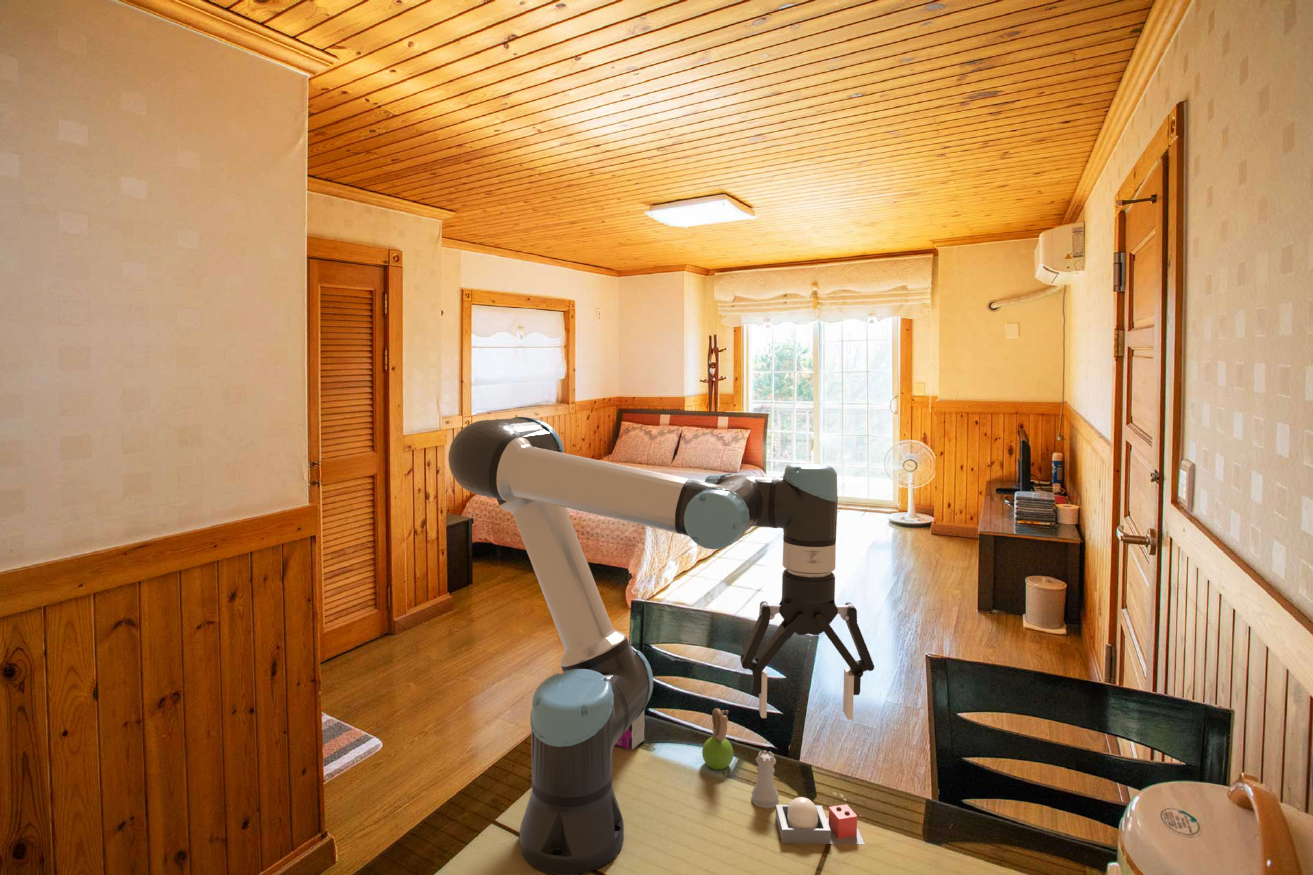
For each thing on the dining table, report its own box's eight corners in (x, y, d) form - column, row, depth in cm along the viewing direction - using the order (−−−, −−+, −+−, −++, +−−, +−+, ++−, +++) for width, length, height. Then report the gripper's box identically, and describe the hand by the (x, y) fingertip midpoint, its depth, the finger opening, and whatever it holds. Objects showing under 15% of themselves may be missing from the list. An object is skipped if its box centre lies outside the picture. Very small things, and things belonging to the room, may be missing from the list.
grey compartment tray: (781, 845, 100) (782, 820, 100) (775, 820, 106) (776, 796, 106) (864, 847, 100) (865, 822, 99) (853, 821, 106) (854, 797, 105)
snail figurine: (709, 781, 116) (710, 712, 115) (698, 761, 122) (699, 695, 122) (739, 777, 117) (740, 709, 117) (727, 757, 124) (728, 693, 123)
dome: (790, 836, 101) (790, 808, 100) (785, 818, 105) (785, 790, 105) (820, 837, 100) (821, 808, 100) (813, 818, 105) (814, 791, 105)
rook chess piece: (778, 812, 108) (779, 763, 107) (750, 809, 109) (751, 760, 108) (779, 796, 112) (780, 749, 112) (751, 792, 113) (752, 745, 112)
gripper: (727, 576, 96) (725, 725, 98) (900, 578, 96) (895, 728, 98) (723, 562, 104) (721, 701, 105) (883, 564, 104) (879, 704, 105)
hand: (805, 714), depth 102 cm, fingers open, 12 cm apart
